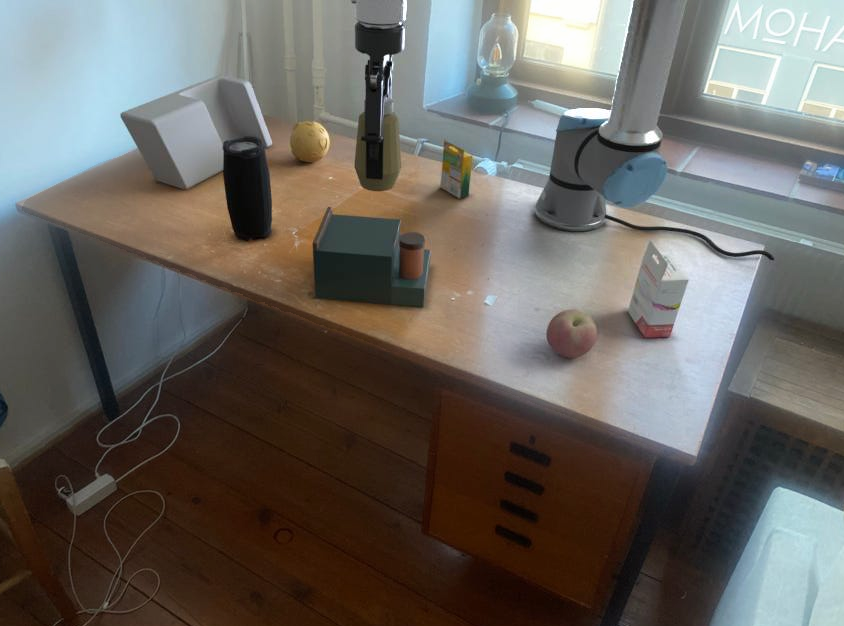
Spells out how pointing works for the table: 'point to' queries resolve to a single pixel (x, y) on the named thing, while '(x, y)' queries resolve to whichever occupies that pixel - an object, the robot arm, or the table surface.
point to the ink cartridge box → (657, 294)
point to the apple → (571, 333)
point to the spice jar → (411, 255)
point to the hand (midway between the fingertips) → (377, 167)
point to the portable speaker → (247, 187)
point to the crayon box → (456, 170)
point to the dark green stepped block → (364, 262)
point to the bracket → (195, 128)
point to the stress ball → (309, 141)
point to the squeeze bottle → (389, 151)
